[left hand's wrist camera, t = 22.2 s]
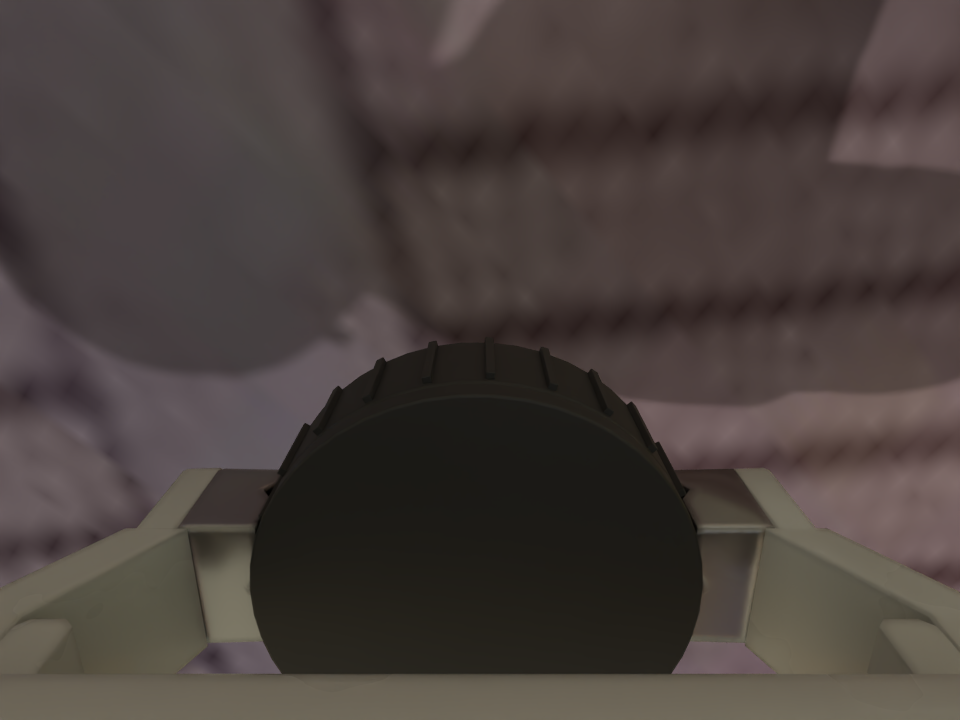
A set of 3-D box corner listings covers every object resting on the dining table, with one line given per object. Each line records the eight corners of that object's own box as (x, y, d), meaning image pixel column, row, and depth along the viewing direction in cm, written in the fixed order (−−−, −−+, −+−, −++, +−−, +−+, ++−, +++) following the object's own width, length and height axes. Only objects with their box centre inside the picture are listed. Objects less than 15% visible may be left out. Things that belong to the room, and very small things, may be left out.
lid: (316, 676, 11) (287, 778, 9) (249, 351, 9) (196, 406, 7) (665, 657, 11) (699, 758, 9) (676, 321, 9) (721, 372, 7)
